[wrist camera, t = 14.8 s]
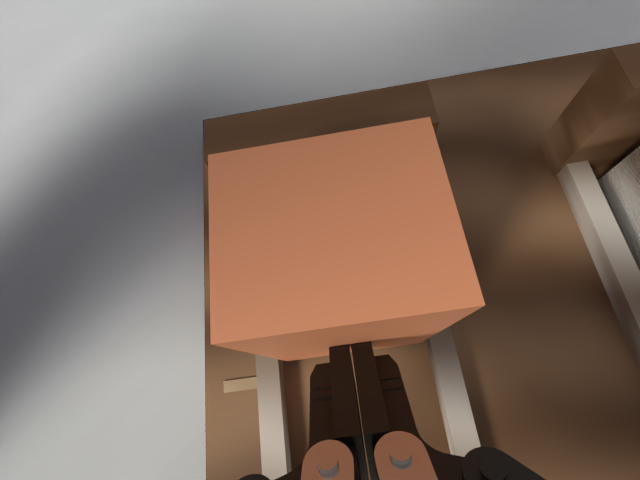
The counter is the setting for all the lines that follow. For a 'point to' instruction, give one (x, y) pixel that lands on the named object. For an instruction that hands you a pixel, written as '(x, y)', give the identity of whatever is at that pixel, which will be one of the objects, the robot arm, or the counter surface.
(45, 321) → the counter surface
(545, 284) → the board
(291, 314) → the terracotta slider
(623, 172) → the steel slider
